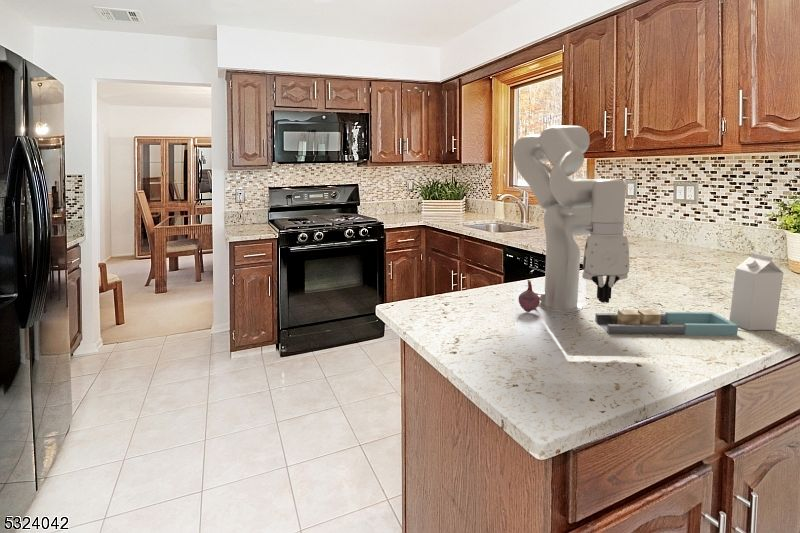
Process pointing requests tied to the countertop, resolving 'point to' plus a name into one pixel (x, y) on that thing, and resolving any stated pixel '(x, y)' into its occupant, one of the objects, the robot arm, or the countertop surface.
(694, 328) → the tray
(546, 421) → the countertop surface
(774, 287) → the milk carton
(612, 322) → the rail
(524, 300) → the vegetable
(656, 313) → the chip
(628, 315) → the chip
